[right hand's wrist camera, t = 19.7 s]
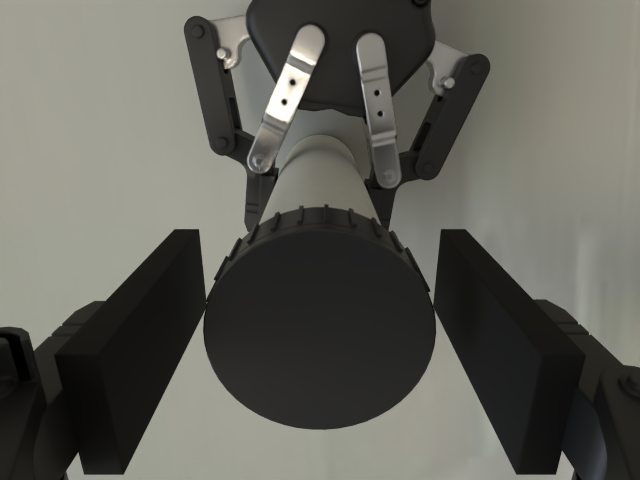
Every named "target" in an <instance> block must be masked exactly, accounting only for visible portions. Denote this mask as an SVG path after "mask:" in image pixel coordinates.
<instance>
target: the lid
mask: <svg viewBox="0 0 640 480" xmlns="http://www.w3.org/2000/svg"><path fill="white" fill-rule="evenodd" d="M214 280H216V281H215V283H214V285H213V287H212V289H211V291H210V293H209V295H208V297H207V300H206V302H207V306H206V310H205V315H204V326H203V333H204V344H205V348H206V352H207V356H208V358H209V361H210V363H211V366H212V368H213V370H214V372H215V374H216V375H217V377H218V379H219V380H220V382H221V383H222V384H223V385H224V387H225V388H226V389H227V391H228V392H230V393H231V394H232V395H233V396H234V397H235V398H236V399H237V400H238V401H239V402H240V403H242V404H243V405H244V406H246V407H247V408H248V409H250V410H252V411H253V412H255V413H257V414H258V415H260V416H262V417H265V418H267V419H269V420H271V421H274V422H277V423H280V424H283V425H287V426H292V427H296V428H303V429H320V430H326V429H337V428H343V427H348V426H353V425H356V424H359V423H362V422H366V421H368V420H370V419H373V418H375V417H377V416H379V415H381V414H383V413H384V412H386V411H388V410H390V409H391V408H392V407H394V406H395V405H396V404H398V403H399V402H401V401H402V400H403V399H404V398H405V397H406V396H407V395H408V394H409V393H410V392H411V391H412V390H413V388H414V387H415V386H416V385H417V383H418V382H419V381H420V379H421V377H422V376H423V374H424V373H425V371H426V369H427V366H428V364H429V362H430V360H431V356H432V353H433V349H434V345H435V337H436V319H435V310H434V308H433V305H432V302H431V299H430V296H429V293H428V292H430V289H429V287H428V285H427V283H426V281H425V279H424V277H423V275H422V273H421V271H420V269H419V267H418V265H417V263H416V261H415V259H414V257H413V255H412V253H411V252H410V250H409V248H408V247H407V248H404V247H403V246H402V244H401V243H400V242H399V240H398V238H397V236H396V234H395V232H394V231H393V230H392V231H391V232H389V231H388V230H386V229H385V228H384V227H383V226H381V225H380V224H378V223H377V220H376V218H374V217H372V218H371V219H369V218H367V217H365V216H362V215H360V214H358V213H355V212H354V210H353V209H352V208H349V210H348V211H347V210H344V209H338V208H331V207H329V205H328V204H324V207H309V208H304V206H303V205H301V206H299V209H296V210H292V211H288V212H285V213H282V214H280V212H276V213H275V215H274V217H272V218H270V219H268V220H267V221H265V222H263V223H261V224H260V225H259V224H258V223H256V224H254V226H253V228H252V231H250V232H249V233H248V234H247V235H246V236H245V237H244V238H243V239H240V238H239V239H238V240H237V241H236V243H235V245H234V247H233V249H232V251H231V253H230V255H229V257H227V256H226V257H225V259H224V261H223V263H222V265H221V267H220V268H219V270H218V272H217V274H216V276H215V278H214Z"/></svg>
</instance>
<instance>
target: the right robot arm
mask: <svg viewBox="0 0 640 480" xmlns="http://www.w3.org/2000/svg"><path fill="white" fill-rule="evenodd" d="M206 306H207V303H206V294H205V284H204V274H203V264H202V255H201V245H200V235H199V229H174V230H173V232H172V233H171V234H170V235H169V236H168V237H167V238H166V239H165V240H164V241H163V242H162V243H161V244H160V245H159V246H158V247H157V248H156V249H155V250H154V251H153V252H152V253H151V254H150V255H149V256H148V258H147V259H146V260H145V261H144V262H143V263H142V264H141V265H140V266H139V267H138V268H137V269H136V270H135V271H134V272H133V273H132V274H131V275H130V276H129V277H128V278H127V279H126V280H125V281H124V282H123V284H122V285H121V286H120V287H119V288H118V289H117V290H116V291H115V292H114V293H113V294H112V295H111V296H110V297H109V298H108V299H107V300H106V301H94V302H92V303H90V304H88V305H86V306H84V307H83V308H81V309H79V310H77V311H75V312H74V313H73V314H72V315H71V316H70V317H69V318H68V319H67V320H66V321H65V322H64V323H63V325H62V326H60V327H59V328H57V329H56V330H55V331H54V332H53V333H52V336H51V337H48V338H47V339H46V340H45V341H44V342H43V343H42V344H41V345H40V346H39V347H38V348H36V349H35V350H34V351H33V347H32V344H31V340H30V336H29V333H28V332H27V331H25V330H24V329H22V328H16V327H1V328H0V480H68V476H67V472H66V470H67V469H68V467H69V465H70V464H71V462H72V461H73V459H74V458H75V456H76V455H77V453H78V452H79V456H80V460H81V464H82V468H83V472H84V475H124V473H125V471H126V469H127V467H128V465H129V463H130V460H131V458H132V456H133V454H134V452H135V450H136V448H137V446H138V444H139V442H140V440H141V438H142V436H143V434H144V432H145V430H146V428H147V426H148V424H149V422H150V420H151V418H152V416H153V414H154V412H155V410H156V408H157V406H158V404H159V402H160V400H161V398H162V396H163V394H164V392H165V390H166V388H167V386H168V384H169V382H170V380H171V378H172V376H173V374H174V372H175V370H176V368H177V366H178V364H179V362H180V360H181V358H182V356H183V354H184V352H185V350H186V348H187V345H188V343H189V341H190V339H191V337H192V335H193V333H194V331H195V329H196V327H197V325H198V323H199V321H200V319H201V317H202V315H203V313H204V311H205V309H206ZM433 307H434V309H435V311H436V313H437V315H438V317H439V319H440V321H441V323H442V325H443V327H444V329H445V331H446V333H447V335H448V337H449V339H450V341H451V343H452V345H453V348H454V350H455V352H456V354H457V356H458V358H459V360H460V362H461V364H462V366H463V368H464V370H465V372H466V374H467V376H468V378H469V380H470V382H471V384H472V386H473V388H474V390H475V392H476V394H477V396H478V398H479V400H480V402H481V404H482V406H483V408H484V410H485V412H486V414H487V416H488V418H489V420H490V422H491V424H492V426H493V428H494V430H495V432H496V434H497V436H498V438H499V440H500V442H501V444H502V446H503V448H504V450H505V452H506V454H507V456H508V458H509V461H510V463H511V465H512V467H513V469H514V471H515V473H516V475H556V472H557V468H558V464H559V460H560V456H561V452H562V451H563V452H564V454H565V455H566V457H567V458H568V460H569V462H570V463H571V465H572V466H573V468H574V472H573V476H572V480H640V368H639V367H635V366H626V365H623V364H622V363H621V362H620V361H618V360H617V359H616V358H615V357H614V356H613V355H612V354H611V353H610V352H609V351H608V350H607V349H606V348H605V347H604V346H603V345H602V344H600V343H599V342H598V341H597V340H596V339H595V338H594V337H593V336H592V335H589V332H588V331H587V330H586V329H585V328H584V327H583V326H581V325H578V322H577V321H576V320H575V319H574V318H573V317H572V316H571V315H570V314H569V313H568V312H567V311H566V310H564V309H562V308H560V307H559V306H557V305H555V304H553V303H551V302H549V301H547V300H533V299H532V298H531V297H530V296H529V295H528V294H527V293H526V292H525V291H524V290H523V289H522V288H521V287H520V286H519V285H518V284H517V282H516V281H515V280H514V279H513V278H512V277H511V276H510V275H509V274H508V273H507V272H506V271H505V270H504V269H503V268H502V267H501V266H500V265H499V264H498V263H497V262H496V261H495V260H494V259H493V258H492V256H491V255H490V254H489V253H488V252H487V251H486V250H485V249H484V248H483V247H482V246H481V245H480V244H479V243H478V242H477V241H476V240H475V239H474V238H473V237H472V236H471V235H470V234H469V233H468V232H467V230H466V229H441V235H440V245H439V255H438V264H437V274H436V284H435V294H434V303H433Z"/></svg>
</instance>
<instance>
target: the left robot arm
mask: <svg viewBox="0 0 640 480" xmlns="http://www.w3.org/2000/svg"><path fill="white" fill-rule="evenodd" d="M430 7H431V0H252V2H251V3H250V5H249V7H248V9H247V12H246V15H242V16H236V17H229V18H223V19H217V20H207V19H205V18H203V17H200V16H193V17H191V18H189V19H188V20H187V22H186V23H185V26H184V34H185V38H186V43H187V47H188V51H189V56H190V60H191V65H192V69H193V73H194V78H195V82H196V86H197V91H198V95H199V100H200V104H201V108H202V113H203V117H204V121H205V126H206V130H207V135H208V139H209V143H210V147H211V149H212V150H213V151H214V152H215V153H216V154H218V155H222V156H224V155H226V156H228V157H230V158H232V159H234V160H236V161H238V162H240V163H241V164H242V165H243V166H244V167H245V169H246V172H247V189H246V205H245V221H244V222H245V225H246V228H247V231H248V232H250V231H252V228H253V226H254V224H256V223H258V224H259V223H260V220H261V218H262V215H263V213H264V211H265V208H266V206H267V204H268V201H269V199H270V196H271V194H272V192H273V189H274V187H275V184H276V182H277V180H278V172H279V168H275V160H276V156H277V154H278V152H279V150H280V147H281V145H282V143H283V141H284V138H285V136H286V134H287V132H288V129H289V127H290V125H291V123H292V121H293V118H294V116H295V114H296V112H297V109H300V110H308V111H319V110H326V109H334V110H336V111H339V112H341V113H344V114H346V115H349V116H357V117H361V118H362V123H363V129H364V133H365V137H366V142H367V148H368V154H369V159H370V165H371V171H370V178H369V179H365V181H364V185H365V187H366V190H367V192H368V194H369V197H370V199H371V202H372V204H373V206H374V209H375V211H376V214H377V216H378V218H379V221H380V223H381V226H383V227H384V228H385V229H386V230H389V224H390V219H391V213H392V208H393V202H394V197H395V193H396V190H397V189H398V187H399V186H400V185H402V184H403V183H405V182H408V181H413V180H417V179H422V180H431V179H434V178H435V177H436V176H437V175H438V174H439V172H440V170H441V168H442V166H443V164H444V162H445V160H446V158H447V156H448V154H449V152H450V150H451V148H452V146H453V144H454V142H455V140H456V138H457V136H458V134H459V132H460V130H461V128H462V126H463V124H464V122H465V120H466V118H467V116H468V114H469V112H470V110H471V108H472V106H473V104H474V102H475V100H476V98H477V96H478V94H479V92H480V90H481V88H482V86H483V84H484V82H485V80H486V78H487V76H488V74H489V71H490V62H489V60H488V58H487V57H486V56H484V55H482V54H465V53H463V52H461V51H459V50H457V49H454V48H452V47H450V46H448V45H446V44H443V43H441V42H439V41H437V40H435V39H436V35H435V29H434V26H433V23H432V19H431V9H430ZM250 39H251V40H252V42H253V44H254V46H255V47H256V49H257V51H258V53H259V54H260V56H261V58H262V60H263V62H264V63H265V65H266V67H267V69H268V71H269V72H270V74H271V76H272V78H273V80H274V81H275V83H276V87H275V89H274V92H273V94H272V97H271V99H270V101H269V104H268V106H267V108H266V111H265V113H264V116H263V119H262V122H261V125H260V127H259V130H258V132H257V135H256V137H254V136H252V135H250V134H248V133H246V132H244V131H243V130H242V125H241V120H240V115H239V110H238V105H237V100H236V95H235V90H234V85H233V80H232V75H231V70H230V69H234V68H236V67H237V66H238V65H239V64H240V62H241V50H242V47H243V45H244V43H245V42H246V41H248V40H250ZM424 62H425V63H426V64H427V65H428V67H429V69H430V77H429V80H428V87H429V90H430V91H431V93H433V94H434V95H435V96H434V98H433V101H432V103H431V105H430V107H429V109H428V111H427V113H426V116H425V118H424V120H423V122H422V124H421V126H420V128H419V131H418V133H417V135H416V137H415V139H414V141H413V144H412V146H411V148H410V150H409V151H406V152H402V153H398V148H397V141H396V138H397V131H396V124H395V117H394V110H393V104H392V97H393V96H394V94H395V93H396V92H397V91H398V90H399V89H400V88H401V87H402V86H403V85H404V84H405V83H406V82H407V81H408V79H409V78H410V77H411V76H412V75H413V74H414V73H415V72H416V71H417V70H418V69H419V68H420V67H421V66H422V64H423V63H424Z"/></svg>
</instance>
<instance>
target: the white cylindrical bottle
mask: <svg viewBox="0 0 640 480" xmlns="http://www.w3.org/2000/svg"><path fill="white" fill-rule="evenodd" d="M324 204H328V205H329V207H331V208H338V209H344V210H347V211H348V210H349V208H352V209H353V210H354V212H355V213H358V214H360V215H362V216H365V217H367V218H369V219H371V218H372V217H374V218H376V220H377V223H378V224H380V225H381V223H380V221H379V218H378V216H377V214H376V211H375V209H374V206H373V204H372V202H371V199H370V197H369V194H368V192H367V190H366V187H365V185H364V182H363V180H362V177H361V175H360V173H359V170H358V168H357V165H356V163H355V161H354V158H353V156H352V154H351V152H350V150H349V149H348V148H347V146H346V145H345V144H344V143H342V142H341V141H340V140H338V139H336V138H334V137H331V136H328V135H312V136H308V137H306V138H304V139H302V140H300V141H299V142H298V143H296V144H295V145H294V146H293V148H292V149H291V150H290V152H289V154H288V156H287V158H286V161H285V163H284V165H283V168H282V170H281V172H280V175H279V177H278V180H277V182H276V184H275V187H274V189H273V192H272V194H271V196H270V199H269V201H268V204H267V206H266V208H265V211H264V213H263V215H262V218H261V220H260V223H259V225H260V224H261V223H263V222H265V221H267V220H268V219H270V218H272V217H274V215H275V213H276V212H280V214H282V213H285V212H288V211H292V210H296V209H299V206H301V205H303V206H304V208H309V207H324Z"/></svg>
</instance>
